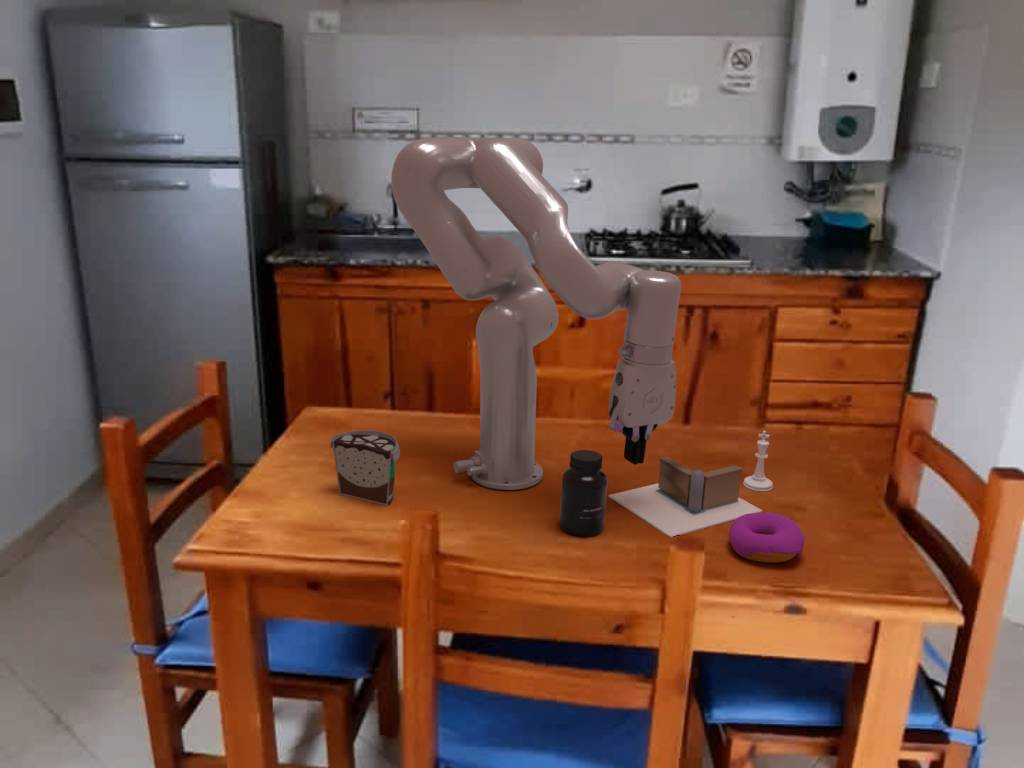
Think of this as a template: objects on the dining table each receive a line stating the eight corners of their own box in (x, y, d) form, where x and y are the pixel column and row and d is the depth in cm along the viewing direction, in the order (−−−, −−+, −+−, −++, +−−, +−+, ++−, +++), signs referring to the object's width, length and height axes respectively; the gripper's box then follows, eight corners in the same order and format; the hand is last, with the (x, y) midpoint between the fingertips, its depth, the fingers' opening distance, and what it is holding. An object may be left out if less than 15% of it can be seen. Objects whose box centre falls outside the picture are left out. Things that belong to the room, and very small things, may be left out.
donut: (732, 528, 131) (735, 501, 129) (803, 541, 127) (807, 513, 126) (723, 561, 121) (726, 531, 120) (800, 576, 118) (804, 545, 116)
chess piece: (773, 492, 143) (781, 437, 140) (744, 489, 144) (750, 435, 141) (771, 481, 148) (778, 427, 145) (742, 478, 149) (748, 425, 146)
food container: (415, 493, 140) (414, 436, 137) (395, 507, 135) (394, 449, 132) (353, 478, 145) (351, 424, 142) (332, 492, 140) (329, 436, 136)
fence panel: (693, 503, 137) (696, 473, 135) (685, 505, 136) (688, 474, 134) (665, 485, 143) (667, 456, 141) (657, 487, 142) (659, 458, 141)
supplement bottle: (591, 542, 125) (595, 468, 122) (551, 530, 129) (554, 457, 125) (611, 524, 131) (616, 453, 127) (572, 513, 134) (576, 443, 131)
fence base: (670, 538, 127) (674, 495, 125) (608, 496, 140) (610, 457, 138) (762, 512, 136) (767, 472, 134) (695, 475, 149) (699, 438, 147)
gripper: (622, 363, 123) (609, 477, 129) (700, 354, 130) (684, 463, 136) (593, 349, 129) (582, 458, 135) (669, 341, 136) (655, 445, 142)
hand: (633, 460), depth 136 cm, fingers closed
